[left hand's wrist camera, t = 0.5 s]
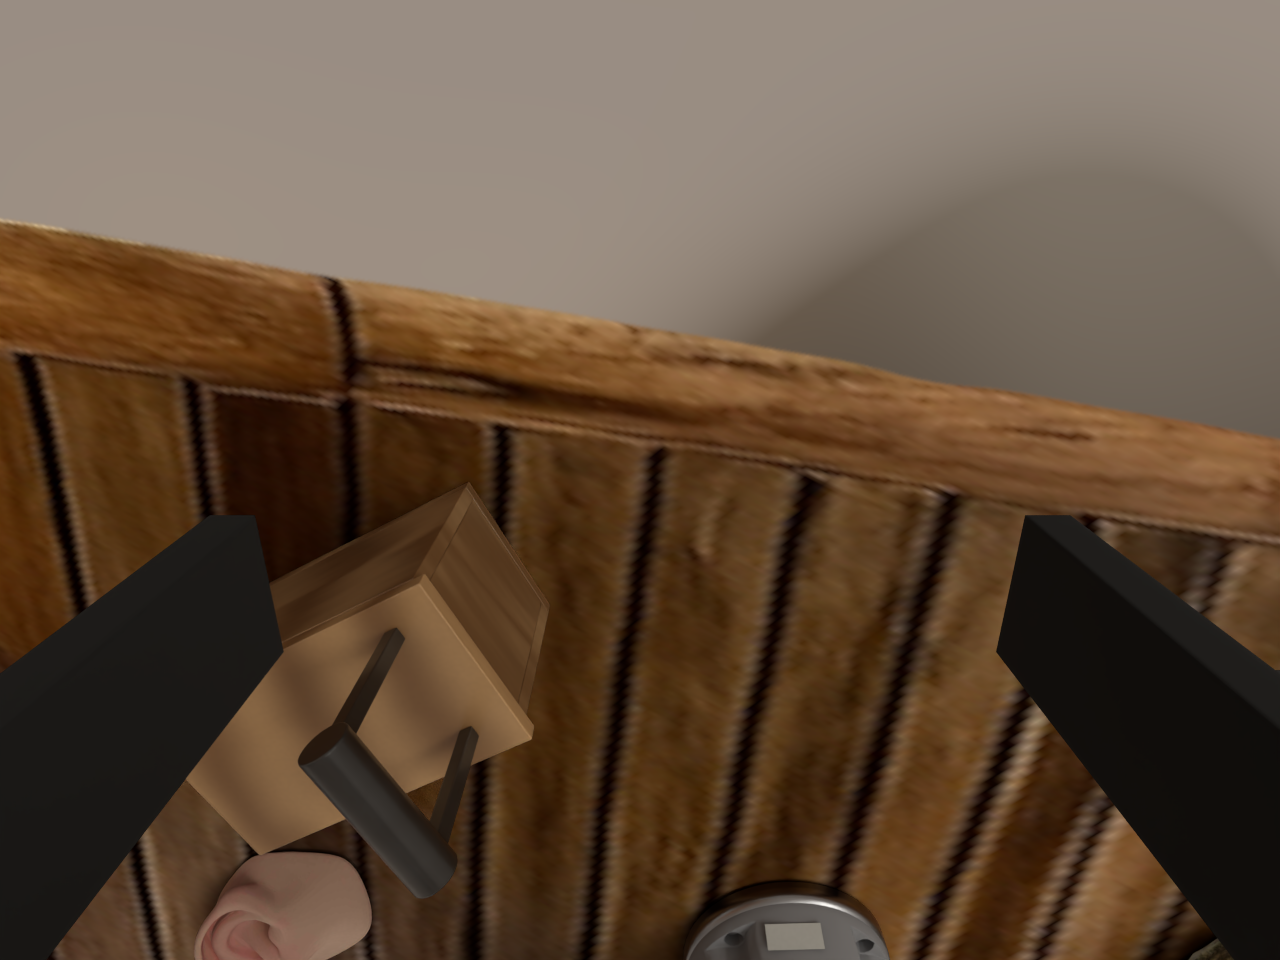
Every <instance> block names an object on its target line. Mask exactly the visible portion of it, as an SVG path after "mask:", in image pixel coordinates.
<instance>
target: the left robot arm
mask: <svg viewBox="0 0 1280 960" xmlns="http://www.w3.org/2000/svg"><path fill="white" fill-rule="evenodd" d="M283 652H284V651H283V646H282V641H281V636H280V632H279V627H278V622H277V618H276V613H275V608H274V604H273V599H272V594H271V589H270V585H269V580H268V575H267V571H266V566H265V561H264V556H263V552H262V547H261V542H260V538H259V533H258V528H257V524H256V519H255V515H210V516H208V517H207V518H206V519H204V520H203V521H202V522H200V523H199V524H198V525H196V526H195V527H194V528H192V529H191V530H190V531H188V532H187V533H186V534H185V535H183V536H182V537H181V538H179V539H178V540H177V541H175V542H174V543H173V544H171V545H170V546H169V547H167V548H166V549H165V550H163V551H162V552H161V553H159V554H158V555H157V556H155V557H154V558H153V559H151V560H150V561H149V562H147V563H146V564H145V565H143V566H142V567H141V568H139V569H138V570H137V571H136V572H134V573H133V574H132V575H130V576H129V577H128V578H126V579H125V580H124V581H122V582H121V583H120V584H118V585H117V586H116V587H114V588H113V589H112V590H110V591H109V592H108V593H106V594H105V595H104V596H102V597H101V598H100V599H98V600H97V601H96V602H94V603H93V604H92V605H91V606H89V607H88V608H87V609H85V610H84V611H83V612H81V613H80V614H79V615H77V616H76V617H75V618H73V619H72V620H71V621H69V622H68V623H67V624H65V625H64V626H63V627H61V628H60V629H59V630H57V631H56V632H55V633H53V634H52V635H51V636H49V637H48V638H47V639H45V640H44V641H43V642H42V643H40V644H39V645H38V646H36V647H35V648H34V649H32V650H31V651H30V652H28V653H27V654H26V655H24V656H23V657H22V658H20V659H19V660H18V661H16V662H15V663H14V664H12V665H11V666H10V667H8V668H7V669H6V670H4V671H3V672H2V673H0V960H46V959H47V958H48V957H49V955H50V954H51V953H52V951H53V950H54V949H55V948H56V946H57V945H58V944H59V942H60V941H61V940H62V938H63V937H64V936H65V935H66V933H67V932H68V931H69V929H70V928H71V927H72V926H73V924H74V923H75V922H76V920H77V919H78V918H79V916H80V915H81V914H82V913H83V911H84V910H85V909H86V907H87V906H88V905H89V904H90V902H91V901H92V900H93V898H94V897H95V896H96V894H97V893H98V892H99V891H100V889H101V888H102V887H103V885H104V884H105V883H106V882H107V880H108V879H109V878H110V876H111V875H112V874H113V872H114V871H115V870H116V869H117V867H118V866H119V865H120V863H121V862H122V861H123V859H124V858H125V857H126V856H127V854H128V853H129V852H130V850H131V849H132V848H133V847H134V845H135V844H136V843H137V841H138V840H139V839H140V837H141V836H142V835H143V834H144V832H145V831H146V830H147V828H148V827H149V826H150V825H151V823H152V822H153V821H154V819H155V818H156V817H157V815H158V814H159V813H160V812H161V810H162V809H163V808H164V806H165V805H166V804H167V802H168V801H169V800H170V799H171V797H172V796H173V795H174V793H175V792H176V791H177V790H178V788H179V787H180V786H181V784H182V783H183V782H184V780H185V779H186V778H187V777H188V775H189V774H190V773H191V771H192V770H193V769H194V768H195V766H196V765H197V764H198V762H199V761H200V760H201V758H202V757H203V756H204V755H205V753H206V752H207V751H208V749H209V748H210V747H211V745H212V744H213V743H214V742H215V740H216V739H217V738H218V736H219V735H220V734H221V733H222V731H223V730H224V729H225V727H226V726H227V725H228V723H229V722H230V721H231V720H232V718H233V717H234V716H235V714H236V713H237V712H238V711H239V709H240V708H241V707H242V705H243V704H244V703H245V701H246V700H247V699H248V698H249V696H250V695H251V694H252V692H253V691H254V690H255V689H256V687H257V686H258V685H259V683H260V682H261V681H262V679H263V678H264V677H265V676H266V674H267V673H268V672H269V670H270V669H271V668H272V666H273V665H274V664H275V663H276V661H277V660H278V659H279V657H280V656H281V655H282V654H283ZM996 652H997V654H998V655H999V656H1000V657H1001V659H1002V660H1003V661H1004V663H1005V664H1006V665H1007V666H1008V668H1009V669H1010V670H1011V672H1012V673H1013V674H1014V676H1015V677H1016V678H1017V679H1018V681H1019V682H1020V683H1021V685H1022V686H1023V687H1024V689H1025V690H1026V691H1027V692H1028V694H1029V695H1030V696H1031V698H1032V699H1033V700H1034V701H1035V703H1036V704H1037V705H1038V707H1039V708H1040V709H1041V711H1042V712H1043V713H1044V714H1045V716H1046V717H1047V718H1048V720H1049V721H1050V722H1051V723H1052V725H1053V726H1054V727H1055V729H1056V730H1057V731H1058V733H1059V734H1060V735H1061V736H1062V738H1063V739H1064V740H1065V742H1066V743H1067V744H1068V745H1069V747H1070V748H1071V749H1072V751H1073V752H1074V753H1075V755H1076V756H1077V757H1078V758H1079V760H1080V761H1081V762H1082V764H1083V765H1084V766H1085V768H1086V769H1087V770H1088V771H1089V773H1090V774H1091V775H1092V777H1093V778H1094V779H1095V780H1096V782H1097V783H1098V784H1099V786H1100V787H1101V788H1102V790H1103V791H1104V792H1105V793H1106V795H1107V796H1108V797H1109V799H1110V800H1111V801H1112V802H1113V804H1114V805H1115V806H1116V808H1117V809H1118V810H1119V812H1120V813H1121V814H1122V815H1123V817H1124V818H1125V819H1126V821H1127V822H1128V823H1129V825H1130V826H1131V827H1132V828H1133V830H1134V831H1135V832H1136V834H1137V835H1138V836H1139V837H1140V839H1141V840H1142V841H1143V843H1144V844H1145V845H1146V847H1147V848H1148V849H1149V850H1150V852H1151V853H1152V854H1153V856H1154V857H1155V858H1156V859H1157V861H1158V862H1159V863H1160V865H1161V866H1162V867H1163V869H1164V870H1165V871H1166V872H1167V874H1168V875H1169V876H1170V878H1171V879H1172V880H1173V882H1174V883H1175V884H1176V885H1177V887H1178V888H1179V889H1180V891H1181V892H1182V893H1183V894H1184V896H1185V897H1186V898H1187V900H1188V901H1189V902H1190V904H1191V905H1192V906H1193V907H1194V909H1195V910H1196V911H1197V913H1198V914H1199V915H1200V916H1201V918H1202V919H1203V920H1204V922H1205V923H1206V924H1207V926H1208V927H1209V928H1210V929H1211V931H1212V932H1213V933H1214V935H1215V936H1216V937H1217V938H1218V940H1219V941H1220V942H1221V944H1222V945H1223V946H1224V948H1225V949H1226V950H1227V951H1228V953H1229V954H1230V955H1231V957H1232V958H1233V959H1234V960H1280V670H1274V669H1273V668H1272V667H1270V666H1269V665H1268V664H1266V663H1265V662H1264V661H1262V660H1261V659H1260V658H1258V657H1257V656H1256V655H1254V654H1253V653H1252V652H1250V651H1249V650H1248V649H1246V648H1245V647H1244V646H1242V645H1241V644H1240V643H1238V642H1237V641H1236V640H1235V639H1233V638H1232V637H1231V636H1229V635H1228V634H1227V633H1225V632H1224V631H1223V630H1221V629H1220V628H1219V627H1217V626H1216V625H1215V624H1213V623H1212V622H1211V621H1209V620H1208V619H1207V618H1205V617H1204V616H1203V615H1201V614H1200V613H1199V612H1197V611H1196V610H1195V609H1193V608H1192V607H1191V606H1189V605H1188V604H1187V603H1186V602H1184V601H1183V600H1182V599H1180V598H1179V597H1178V596H1176V595H1175V594H1174V593H1172V592H1171V591H1170V590H1168V589H1167V588H1166V587H1164V586H1163V585H1162V584H1160V583H1159V582H1158V581H1156V580H1155V579H1154V578H1152V577H1151V576H1150V575H1148V574H1147V573H1146V572H1144V571H1143V570H1142V569H1141V568H1139V567H1138V566H1137V565H1135V564H1134V563H1133V562H1131V561H1130V560H1129V559H1127V558H1126V557H1125V556H1123V555H1122V554H1121V553H1119V552H1118V551H1117V550H1115V549H1114V548H1113V547H1111V546H1110V545H1109V544H1107V543H1106V542H1105V541H1103V540H1102V539H1101V538H1099V537H1098V536H1097V535H1095V534H1094V533H1093V532H1092V531H1090V530H1089V529H1088V528H1086V527H1085V526H1084V525H1082V524H1081V523H1080V522H1078V521H1077V520H1076V519H1074V518H1073V517H1072V516H1070V515H1025V519H1024V524H1023V528H1022V533H1021V538H1020V542H1019V547H1018V552H1017V556H1016V561H1015V566H1014V571H1013V575H1012V580H1011V585H1010V589H1009V594H1008V599H1007V604H1006V608H1005V613H1004V618H1003V622H1002V627H1001V632H1000V636H999V641H998V646H997V651H996ZM683 957H684V960H890V958H889V953H888V950H887V947H886V944H885V941H884V938H883V935H882V932H881V929H880V926H879V924H878V922H877V921H876V919H875V917H874V916H873V915H872V913H871V912H870V911H869V910H868V909H867V908H866V907H865V906H864V905H863V904H861V903H860V902H859V901H857V900H856V899H854V898H853V897H851V896H849V895H847V894H846V893H843V892H841V891H839V890H836V889H833V888H830V887H827V886H823V885H819V884H813V883H806V882H776V883H767V884H762V885H757V886H754V887H750V888H747V889H744V890H741V891H738V892H736V893H734V894H731V895H729V896H727V897H725V898H724V899H722V900H720V901H719V902H717V903H716V904H714V905H713V906H711V907H710V908H709V909H708V910H706V911H705V912H704V913H703V914H702V915H701V916H700V917H699V918H698V920H697V921H696V922H695V923H694V925H693V926H692V928H691V930H690V932H689V934H688V936H687V939H686V941H685V946H684V954H683Z"/></svg>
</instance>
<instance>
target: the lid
mask: <svg viewBox="0 0 1280 960" xmlns="http://www.w3.org/2000/svg"><path fill="white" fill-rule="evenodd" d="M282 646H283V651H284V652H283V654H282V655H281V656H280V657H279V659H278V660H277V661H276V663H275V664H274V665H273V666H272V668H271V669H270V670H269V672H268V673H267V674H266V676H265V677H264V678H263V679H262V681H261V682H260V683H259V685H258V686H257V687H256V689H255V690H254V691H253V692H252V694H251V695H250V696H249V698H248V699H247V700H246V701H245V703H244V704H243V705H242V707H241V708H240V709H239V711H238V712H237V713H236V714H235V716H234V717H233V718H232V720H231V721H230V722H229V723H228V725H227V726H226V727H225V729H224V730H223V731H222V733H221V734H220V735H219V736H218V738H217V739H216V740H215V742H214V743H213V744H212V745H211V747H210V748H209V749H208V751H207V752H206V753H205V755H204V756H203V757H202V758H201V760H200V761H199V762H198V764H197V765H196V766H195V768H194V769H193V770H192V771H191V773H190V774H189V775H188V777H187V778H186V780H187V781H188V782H189V783H190V784H191V785H192V786H193V787H194V788H195V789H196V790H197V791H198V792H199V793H200V795H201V796H202V797H203V798H204V799H205V800H206V801H207V802H208V803H209V804H210V805H211V806H212V807H213V808H214V809H215V810H216V811H217V812H218V813H219V814H220V815H221V816H222V817H223V818H224V819H225V820H226V821H227V822H228V823H229V824H230V825H231V826H232V827H233V828H234V830H235V831H236V832H237V833H238V834H239V835H240V836H241V837H242V838H243V839H244V840H245V841H246V842H247V843H248V844H249V845H250V846H251V847H252V848H253V849H254V850H255V851H256V852H257V853H258V854H259V855H263V854H265V853H267V852H270V851H272V850H274V849H277V848H279V847H281V846H284V845H286V844H288V843H291V842H293V841H295V840H298V839H300V838H302V837H305V836H307V835H309V834H312V833H314V832H316V831H319V830H321V829H323V828H326V827H328V826H330V825H333V824H335V823H337V822H340V821H342V820H344V819H346V820H347V821H348V822H349V823H350V824H351V825H352V826H353V828H354V829H355V830H356V831H357V832H358V833H359V834H360V835H361V837H362V838H363V839H364V840H365V841H366V842H367V843H368V844H369V846H370V847H371V848H372V849H373V850H374V851H375V852H376V853H377V855H378V856H379V857H380V858H381V859H382V860H383V861H384V862H385V864H386V865H387V866H388V867H389V868H390V869H391V870H392V871H393V873H394V874H395V875H396V876H397V877H398V878H399V879H400V880H401V882H402V883H403V884H404V885H405V886H406V887H407V888H408V889H409V891H410V892H411V893H412V894H413V895H414V896H415V897H417V898H427V897H430V896H432V895H434V894H435V893H437V892H438V891H439V890H441V889H442V888H443V887H444V886H445V885H446V884H447V882H448V881H449V880H450V878H451V877H452V875H453V873H454V872H455V869H456V866H457V855H456V853H455V852H454V850H453V849H452V848H451V847H450V846H449V845H448V842H449V838H450V835H451V831H452V828H453V824H454V821H455V818H456V814H457V811H458V807H459V804H460V800H461V797H462V794H463V790H464V787H465V783H466V780H467V776H468V773H469V769H470V766H471V765H473V764H475V763H478V762H480V761H482V760H485V759H487V758H489V757H492V756H494V755H496V754H499V753H501V752H503V751H506V750H508V749H510V748H513V747H515V746H517V745H520V744H522V743H524V742H527V741H529V740H531V739H532V735H533V730H534V725H533V724H532V722H531V721H530V720H529V718H528V717H527V715H526V714H525V713H524V711H523V710H522V708H521V707H520V706H519V704H518V703H517V701H516V700H515V699H514V697H513V696H512V694H511V693H510V692H509V690H508V689H507V688H506V686H505V685H504V683H503V682H502V681H501V679H500V678H499V676H498V675H497V674H496V672H495V671H494V669H493V668H492V667H491V665H490V664H489V662H488V661H487V660H486V658H485V657H484V655H483V654H482V653H481V651H480V650H479V648H478V647H477V646H476V644H475V643H474V641H473V640H472V639H471V637H470V636H469V635H468V633H467V632H466V630H465V629H464V628H463V626H462V625H461V623H460V622H459V621H458V619H457V618H456V616H455V615H454V614H453V612H452V611H451V609H450V608H449V607H448V605H447V604H446V602H445V601H444V600H443V598H442V597H441V595H440V594H439V593H438V591H437V590H436V589H435V587H434V586H433V584H432V583H431V582H430V580H429V579H428V577H427V576H426V575H425V574H423V575H421V576H419V577H417V578H415V579H413V580H410V581H408V582H406V583H404V584H402V585H400V586H398V587H396V588H394V589H392V590H390V591H388V592H386V593H384V594H382V595H380V596H378V597H376V598H374V599H371V600H369V601H367V602H365V603H363V604H361V605H359V606H357V607H355V608H353V609H351V610H349V611H347V612H345V613H343V614H341V615H339V616H337V617H335V618H333V619H330V620H328V621H326V622H324V623H322V624H320V625H318V626H316V627H314V628H312V629H310V630H308V631H306V632H304V633H302V634H300V635H298V636H296V637H294V638H291V639H289V640H287V641H285V642H283V643H282ZM443 777H444V780H443V783H442V786H441V789H440V792H439V795H438V798H437V801H436V804H435V807H434V810H433V813H432V816H431V819H430V822H429V821H428V819H427V818H426V817H425V816H424V815H423V813H422V812H421V811H420V810H419V809H418V807H417V806H416V805H415V804H414V803H413V801H412V800H411V799H410V798H409V797H408V795H407V794H406V793H407V792H410V791H412V790H414V789H417V788H419V787H422V786H424V785H426V784H429V783H431V782H433V781H436V780H438V779H440V778H443Z"/></svg>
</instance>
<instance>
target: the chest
mask: <svg viewBox="0 0 1280 960" xmlns="http://www.w3.org/2000/svg"><path fill="white" fill-rule="evenodd" d="M423 574H425V575H426V576H427V577H428V579H429V580H430V582H431V583H432V584H433V586H434V587H435V589H436V590H437V591H438V593H439V594H440V595H441V597H442V598H443V600H444V601H445V602H446V604H447V605H448V607H449V608H450V609H451V611H452V612H453V614H454V615H455V616H456V618H457V619H458V621H459V622H460V623H461V625H462V626H463V628H464V629H465V630H466V632H467V633H468V635H469V636H470V637H471V639H472V640H473V641H474V643H475V644H476V646H477V647H478V648H479V650H480V651H481V653H482V654H483V655H484V657H485V658H486V660H487V661H488V662H489V664H490V665H491V667H492V668H493V669H494V671H495V672H496V674H497V675H498V676H499V678H500V679H501V681H502V682H503V683H504V685H505V686H506V688H507V689H508V690H509V692H510V693H511V694H512V696H513V697H514V699H515V700H516V701H517V703H518V704H519V706H520V707H521V708H522V710H523V711H524V713H525V714H526V715H527V710H528V706H529V701H530V696H531V691H532V687H533V682H534V677H535V673H536V668H537V663H538V659H539V654H540V649H541V645H542V640H543V635H544V631H545V626H546V621H547V617H548V612H549V607H550V604H549V603H548V601H547V600H546V598H545V597H544V595H543V594H542V592H541V590H540V589H539V587H538V586H537V584H536V583H535V581H534V580H533V578H532V577H531V575H530V574H529V572H528V571H527V569H526V568H525V566H524V565H523V563H522V562H521V560H520V559H519V557H518V555H517V554H516V552H515V551H514V549H513V548H512V546H511V545H510V543H509V542H508V540H507V539H506V537H505V536H504V534H503V533H502V531H501V530H500V528H499V527H498V525H497V523H496V522H495V520H494V519H493V517H492V516H491V514H490V513H489V511H488V510H487V508H486V507H485V505H484V504H483V502H482V501H481V499H480V498H479V496H478V495H477V493H476V491H475V490H474V488H473V487H472V485H471V484H470V482H467V483H465V484H463V485H461V486H459V487H457V488H455V489H453V490H451V491H449V492H447V493H445V494H443V495H442V496H440V497H438V498H436V499H434V500H432V501H430V502H428V503H426V504H424V505H422V506H420V507H418V508H416V509H414V510H412V511H410V512H408V513H406V514H404V515H402V516H400V517H398V518H396V519H394V520H392V521H390V522H388V523H386V524H384V525H382V526H380V527H378V528H376V529H374V530H372V531H371V532H369V533H367V534H365V535H363V536H361V537H359V538H357V539H355V540H353V541H351V542H349V543H347V544H345V545H343V546H341V547H339V548H337V549H335V550H333V551H331V552H329V553H327V554H325V555H323V556H321V557H319V558H317V559H315V560H313V561H311V562H309V563H307V564H305V565H303V566H301V567H299V568H298V569H296V570H294V571H292V572H290V573H288V574H286V575H284V576H282V577H280V578H278V579H276V580H274V581H272V582H270V583H269V585H270V589H271V594H272V599H273V604H274V608H275V613H276V618H277V622H278V627H279V632H280V636H281V641H282V643H283V642H285V641H287V640H289V639H291V638H294V637H296V636H298V635H300V634H302V633H304V632H306V631H308V630H310V629H312V628H314V627H316V626H318V625H320V624H322V623H324V622H326V621H328V620H330V619H333V618H335V617H337V616H339V615H341V614H343V613H345V612H347V611H349V610H351V609H353V608H355V607H357V606H359V605H361V604H363V603H365V602H367V601H369V600H371V599H374V598H376V597H378V596H380V595H382V594H384V593H386V592H388V591H390V590H392V589H394V588H396V587H398V586H400V585H402V584H404V583H406V582H408V581H410V580H413V579H415V578H417V577H419V576H421V575H423Z"/></svg>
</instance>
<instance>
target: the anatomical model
mask: <svg viewBox="0 0 1280 960" xmlns="http://www.w3.org/2000/svg"><path fill="white" fill-rule="evenodd" d="M371 921H372V911H371V905H370V900H369V897H368V894H367V891H366V889H365V886H364V884H363V881H362V879H361V878H360V876H359V874H358V872H357V871H356V869H355V868H354V867H353V866H352V864H351V863H350V862H348V861H347V860H345V859H343V858H341V857H339V856H335V855H331V854H324V853H312V852H275V853H265V854H263V855H256V856H254V857H252V858H250V859H249V860H247V861H246V862H245V863H244V864H243V865H242V866H241V867H240V868H239V869H238V870H237V871H236V872H235V874H234V875H233V876H232V877H231V878H230V880H229V881H228V883H227V884H226V885H225V887H224V889H223V890H222V892H221V894H220V896H219V898H218V901H217V903H216V906H215V907H214V908H213V910H212V911H211V912H210V914H209V915H208V916H207V918H206V919H205V920H204V922H203V924H202V925H201V927H200V929H199V931H198V933H197V936H196V939H195V945H194V957H195V960H327V959H329V958H331V957H333V956H335V955H337V954H339V953H341V952H342V951H344V950H346V949H348V948H350V947H351V946H353V945H354V944H356V943H357V942H359V941H360V940H361V939H362V938H363V937H364V936H365V935H366V934H367V932H368V930H369V929H370V925H371Z"/></svg>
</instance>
